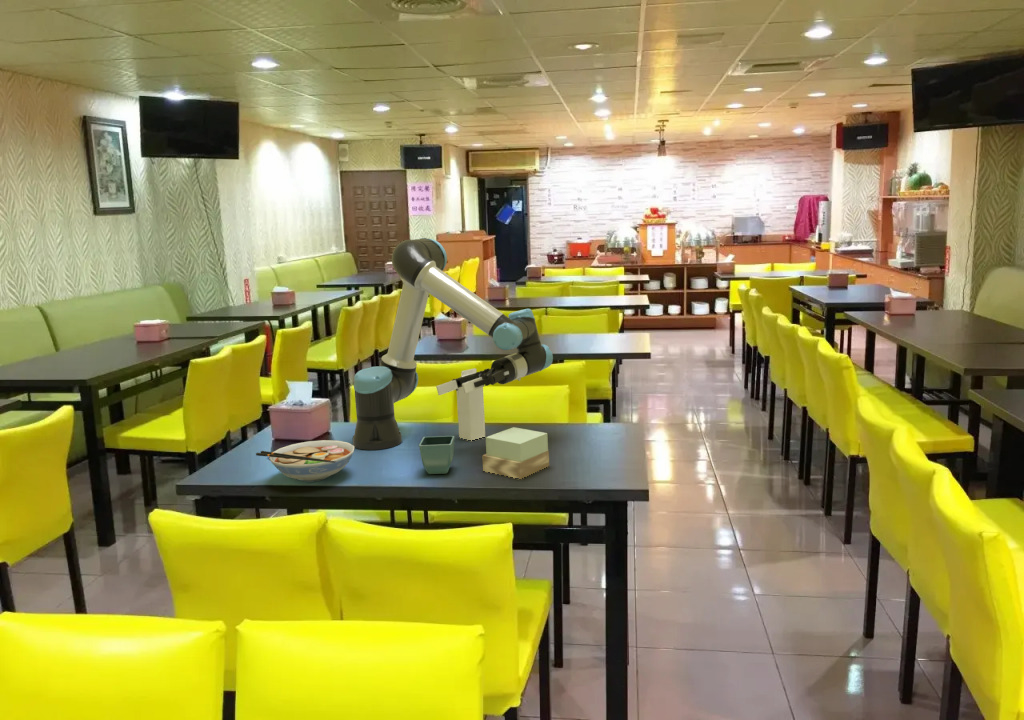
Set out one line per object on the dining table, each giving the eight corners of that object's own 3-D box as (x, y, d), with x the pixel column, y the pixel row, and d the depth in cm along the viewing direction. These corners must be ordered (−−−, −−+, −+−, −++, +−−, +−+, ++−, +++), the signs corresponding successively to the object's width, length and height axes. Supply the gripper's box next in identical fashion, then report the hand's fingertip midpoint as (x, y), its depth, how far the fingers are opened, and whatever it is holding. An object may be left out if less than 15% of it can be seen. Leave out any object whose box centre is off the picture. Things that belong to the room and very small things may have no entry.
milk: (485, 437, 246) (482, 369, 242) (470, 441, 242) (467, 372, 238) (473, 434, 250) (470, 367, 246) (458, 438, 246) (455, 370, 242)
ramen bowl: (376, 469, 218) (374, 441, 217) (325, 496, 198) (322, 466, 196) (305, 460, 229) (303, 434, 227) (249, 486, 208) (246, 456, 207)
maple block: (483, 472, 213) (482, 455, 212) (512, 460, 223) (511, 443, 222) (520, 481, 205) (519, 463, 204) (549, 467, 215) (548, 450, 214)
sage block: (486, 454, 212) (485, 437, 211) (514, 444, 221) (513, 427, 221) (520, 462, 205) (519, 444, 204) (547, 450, 214) (547, 433, 213)
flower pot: (425, 467, 219) (423, 436, 217) (456, 466, 218) (454, 435, 217) (420, 477, 210) (418, 445, 208) (453, 476, 210) (451, 444, 208)
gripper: (537, 378, 221) (478, 400, 209) (487, 383, 241) (431, 403, 229) (530, 353, 220) (471, 374, 208) (481, 360, 240) (424, 379, 228)
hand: (450, 389), depth 218 cm, fingers open, 13 cm apart
